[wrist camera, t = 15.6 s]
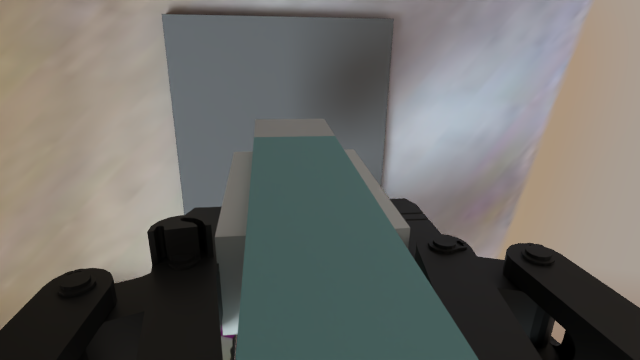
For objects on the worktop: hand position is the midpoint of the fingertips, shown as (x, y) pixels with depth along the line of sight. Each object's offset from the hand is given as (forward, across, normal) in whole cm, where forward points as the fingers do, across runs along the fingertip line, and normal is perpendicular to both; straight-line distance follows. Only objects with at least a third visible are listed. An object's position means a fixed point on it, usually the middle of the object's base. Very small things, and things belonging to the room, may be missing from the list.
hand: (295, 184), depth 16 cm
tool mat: (+9, 0, 0) cm, 9 cm away
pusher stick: (+3, 0, 0) cm, 3 cm away
